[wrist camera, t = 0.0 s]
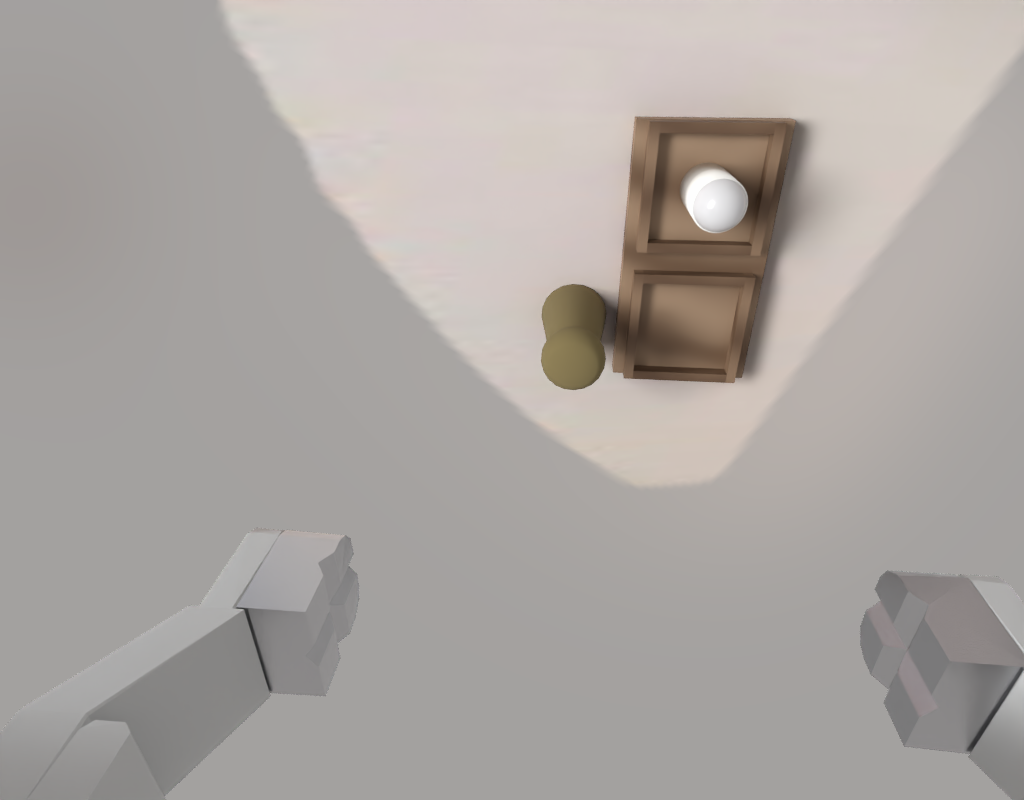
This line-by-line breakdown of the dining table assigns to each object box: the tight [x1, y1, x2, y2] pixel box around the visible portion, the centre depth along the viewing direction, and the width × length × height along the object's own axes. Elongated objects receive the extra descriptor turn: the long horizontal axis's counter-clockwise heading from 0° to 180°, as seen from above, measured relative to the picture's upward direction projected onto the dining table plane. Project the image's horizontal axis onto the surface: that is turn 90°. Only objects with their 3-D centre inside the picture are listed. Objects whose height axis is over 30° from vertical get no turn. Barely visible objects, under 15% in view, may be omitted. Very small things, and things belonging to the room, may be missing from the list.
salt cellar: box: [680, 162, 748, 233], centre depth 47 cm, size 4×4×8 cm
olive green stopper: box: [541, 284, 606, 390], centre depth 54 cm, size 6×6×11 cm
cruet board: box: [612, 117, 796, 383], centre depth 54 cm, size 22×12×3 cm, turn 0°
